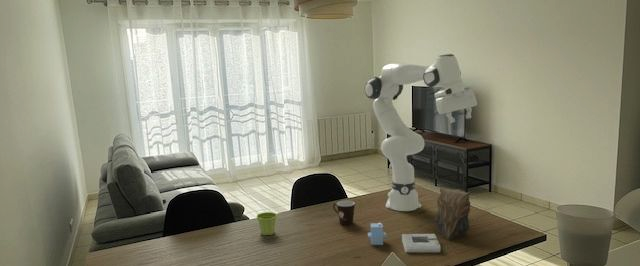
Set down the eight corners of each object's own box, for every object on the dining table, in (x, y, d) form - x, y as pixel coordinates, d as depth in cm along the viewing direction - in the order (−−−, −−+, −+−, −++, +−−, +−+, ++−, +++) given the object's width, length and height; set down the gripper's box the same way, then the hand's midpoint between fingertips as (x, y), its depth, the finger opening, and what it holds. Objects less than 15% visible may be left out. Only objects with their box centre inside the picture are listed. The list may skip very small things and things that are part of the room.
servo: (367, 240, 194) (367, 221, 192) (385, 240, 193) (385, 221, 192) (368, 244, 189) (368, 225, 188) (386, 244, 189) (385, 225, 188)
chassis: (402, 240, 193) (402, 234, 192) (434, 240, 192) (434, 233, 191) (405, 252, 181) (405, 245, 180) (440, 252, 180) (440, 245, 179)
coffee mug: (358, 224, 213) (357, 204, 212) (341, 227, 210) (341, 207, 208) (347, 217, 224) (347, 198, 222) (332, 219, 221) (331, 200, 219)
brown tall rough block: (433, 230, 203) (434, 188, 200) (458, 227, 206) (459, 185, 202) (446, 240, 191) (447, 196, 188) (473, 237, 193) (474, 193, 190)
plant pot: (265, 228, 213) (264, 210, 212) (281, 231, 208) (280, 213, 207) (253, 234, 205) (252, 217, 204) (269, 238, 200) (268, 220, 199)
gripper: (466, 87, 202) (473, 116, 202) (431, 95, 193) (438, 125, 193) (476, 84, 196) (483, 114, 196) (440, 92, 188) (448, 123, 187)
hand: (461, 120), depth 194 cm, fingers open, 8 cm apart
